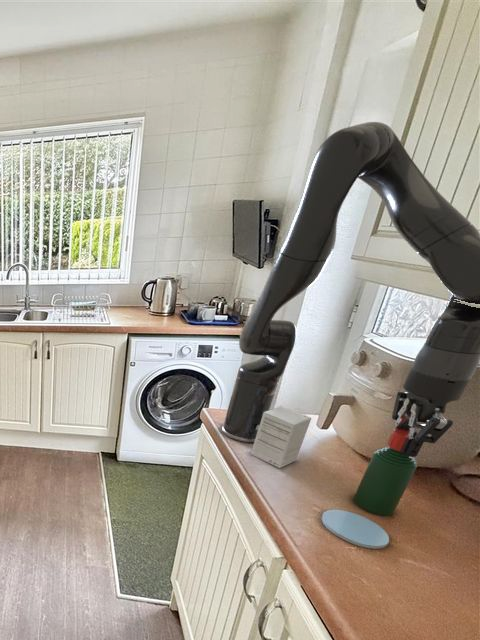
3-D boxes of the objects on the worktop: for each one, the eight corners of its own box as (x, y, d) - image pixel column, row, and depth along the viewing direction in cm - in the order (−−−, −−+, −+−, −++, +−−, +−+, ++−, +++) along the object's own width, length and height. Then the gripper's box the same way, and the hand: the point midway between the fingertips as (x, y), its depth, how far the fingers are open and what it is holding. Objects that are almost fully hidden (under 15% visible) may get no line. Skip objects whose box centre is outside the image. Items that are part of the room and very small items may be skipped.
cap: (383, 441, 84) (389, 427, 82) (408, 445, 82) (415, 431, 81) (392, 450, 80) (399, 436, 79) (418, 454, 79) (425, 440, 78)
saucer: (311, 509, 86) (313, 506, 86) (367, 516, 84) (369, 513, 84) (337, 543, 77) (339, 540, 77) (401, 553, 75) (403, 550, 75)
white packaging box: (266, 447, 108) (280, 405, 103) (296, 461, 102) (313, 417, 97) (249, 454, 106) (262, 411, 100) (279, 469, 99) (295, 424, 94)
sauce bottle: (345, 496, 90) (374, 429, 83) (374, 495, 90) (405, 429, 83) (371, 515, 84) (405, 446, 77) (402, 515, 84) (438, 446, 77)
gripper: (395, 356, 82) (363, 429, 89) (435, 382, 70) (395, 464, 77) (445, 360, 79) (408, 436, 86) (496, 388, 67) (448, 473, 74)
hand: (402, 449), depth 81 cm, fingers closed on cap, 4 cm apart
